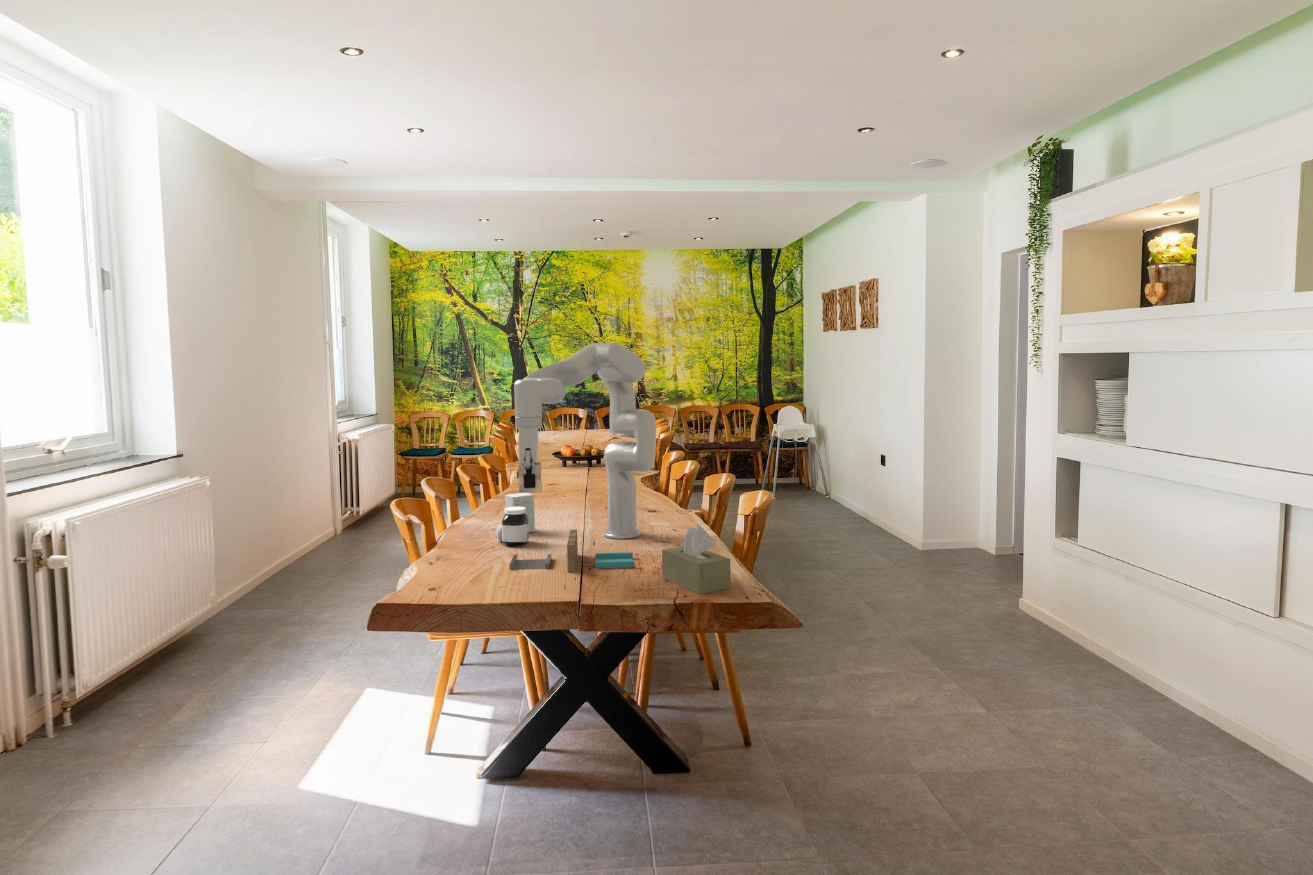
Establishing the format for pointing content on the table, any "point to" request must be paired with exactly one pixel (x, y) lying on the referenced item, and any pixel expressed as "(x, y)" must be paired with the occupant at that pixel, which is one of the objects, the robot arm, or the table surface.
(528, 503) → the small box
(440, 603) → the table surface
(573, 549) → the door panel
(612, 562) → the teal square tray
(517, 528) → the spread jar
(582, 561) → the table surface
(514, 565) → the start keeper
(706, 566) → the tissue box
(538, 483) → the block
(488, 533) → the table surface
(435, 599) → the table surface
